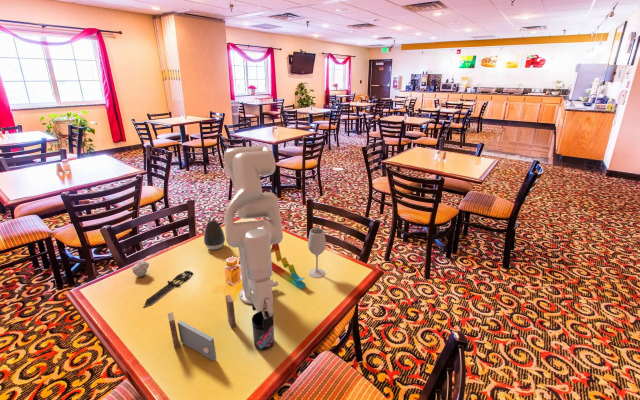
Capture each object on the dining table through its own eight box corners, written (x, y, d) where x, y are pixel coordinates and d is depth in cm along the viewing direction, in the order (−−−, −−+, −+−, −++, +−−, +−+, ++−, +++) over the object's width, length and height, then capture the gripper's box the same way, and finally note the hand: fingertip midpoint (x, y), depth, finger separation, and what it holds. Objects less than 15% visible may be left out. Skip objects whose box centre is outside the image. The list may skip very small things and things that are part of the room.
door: (178, 344, 104) (174, 324, 102) (184, 339, 106) (180, 320, 103) (210, 363, 97) (207, 343, 95) (216, 358, 99) (213, 338, 96)
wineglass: (305, 275, 142) (305, 233, 134) (312, 267, 148) (312, 226, 141) (321, 279, 139) (321, 236, 132) (327, 270, 146) (328, 228, 138)
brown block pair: (232, 319, 116) (229, 294, 112) (235, 326, 113) (233, 300, 109) (172, 340, 106) (167, 313, 103) (174, 348, 103) (169, 321, 99)
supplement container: (251, 350, 103) (249, 324, 99) (256, 335, 109) (254, 310, 105) (272, 352, 102) (270, 326, 99) (276, 336, 109) (275, 311, 105)
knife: (146, 310, 121) (145, 307, 120) (134, 305, 124) (133, 302, 123) (196, 275, 142) (196, 272, 142) (186, 271, 145) (185, 269, 144)
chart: (305, 286, 135) (305, 255, 130) (300, 290, 133) (299, 258, 127) (264, 259, 155) (262, 231, 150) (258, 261, 153) (256, 233, 148)
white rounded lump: (150, 277, 140) (147, 264, 137) (132, 281, 137) (128, 266, 135) (151, 270, 145) (149, 257, 143) (134, 273, 143) (131, 259, 140)
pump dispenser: (222, 252, 160) (219, 224, 155) (202, 252, 160) (198, 224, 155) (228, 242, 170) (225, 216, 164) (208, 242, 170) (205, 216, 165)
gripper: (238, 260, 101) (242, 306, 106) (256, 288, 87) (260, 339, 92) (261, 254, 104) (264, 299, 110) (282, 280, 90) (284, 330, 96)
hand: (262, 317), depth 101 cm, fingers open, 9 cm apart
